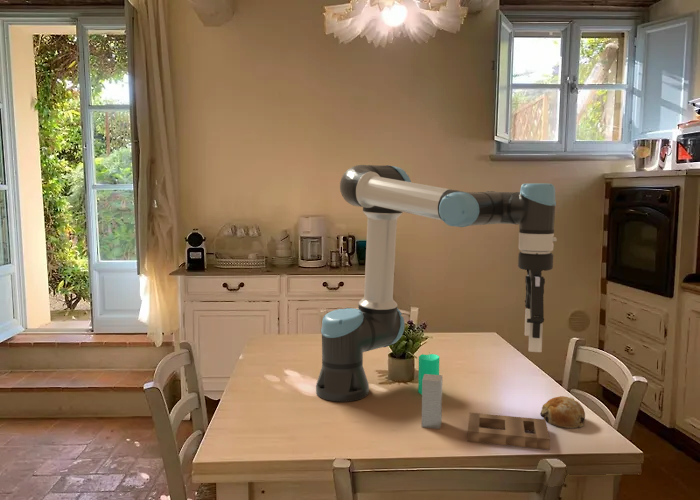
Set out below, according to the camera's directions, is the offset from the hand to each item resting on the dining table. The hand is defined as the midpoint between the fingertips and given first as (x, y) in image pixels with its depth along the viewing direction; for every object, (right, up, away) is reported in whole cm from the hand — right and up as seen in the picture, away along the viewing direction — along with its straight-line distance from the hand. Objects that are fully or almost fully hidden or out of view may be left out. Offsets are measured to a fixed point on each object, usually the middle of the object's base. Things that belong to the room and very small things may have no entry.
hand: (532, 343), depth 130 cm
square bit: (-22, -22, +10) cm, 32 cm away
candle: (-20, -20, +32) cm, 42 cm away
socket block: (-5, -22, +4) cm, 23 cm away
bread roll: (+11, -22, +12) cm, 27 cm away
